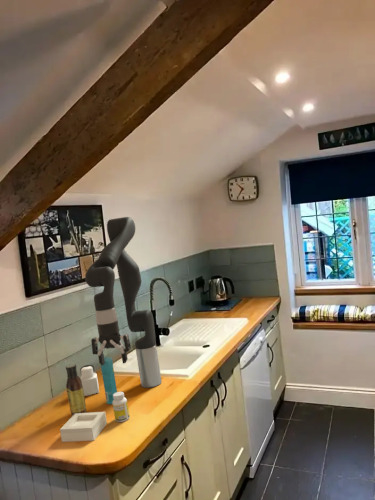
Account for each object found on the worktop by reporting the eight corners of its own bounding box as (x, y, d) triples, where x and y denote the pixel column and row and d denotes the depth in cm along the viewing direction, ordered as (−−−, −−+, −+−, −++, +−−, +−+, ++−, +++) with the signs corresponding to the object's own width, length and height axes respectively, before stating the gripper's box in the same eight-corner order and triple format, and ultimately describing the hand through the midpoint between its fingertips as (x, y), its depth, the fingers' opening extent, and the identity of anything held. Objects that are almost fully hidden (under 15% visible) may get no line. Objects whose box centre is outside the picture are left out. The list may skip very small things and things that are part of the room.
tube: (123, 400, 180) (116, 355, 179) (115, 405, 176) (108, 359, 175) (109, 398, 184) (102, 354, 182) (101, 403, 180) (94, 358, 178)
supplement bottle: (123, 414, 166) (119, 389, 165) (132, 417, 163) (128, 391, 162) (112, 420, 162) (108, 395, 161) (122, 423, 158) (117, 397, 158)
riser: (77, 424, 163) (75, 413, 162) (107, 423, 160) (105, 411, 160) (62, 441, 151) (59, 429, 151) (94, 440, 149) (92, 427, 148)
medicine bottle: (83, 391, 197) (78, 365, 197) (98, 387, 199) (94, 362, 198) (82, 396, 190) (78, 370, 190) (99, 393, 192) (94, 367, 191)
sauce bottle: (72, 411, 176) (64, 363, 175) (88, 408, 177) (80, 361, 175) (69, 418, 170) (61, 369, 169) (85, 415, 170) (77, 366, 169)
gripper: (128, 316, 162) (135, 358, 163) (93, 320, 165) (99, 361, 166) (121, 321, 155) (128, 365, 156) (84, 325, 158) (91, 368, 159)
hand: (113, 363), depth 161 cm, fingers open, 8 cm apart
